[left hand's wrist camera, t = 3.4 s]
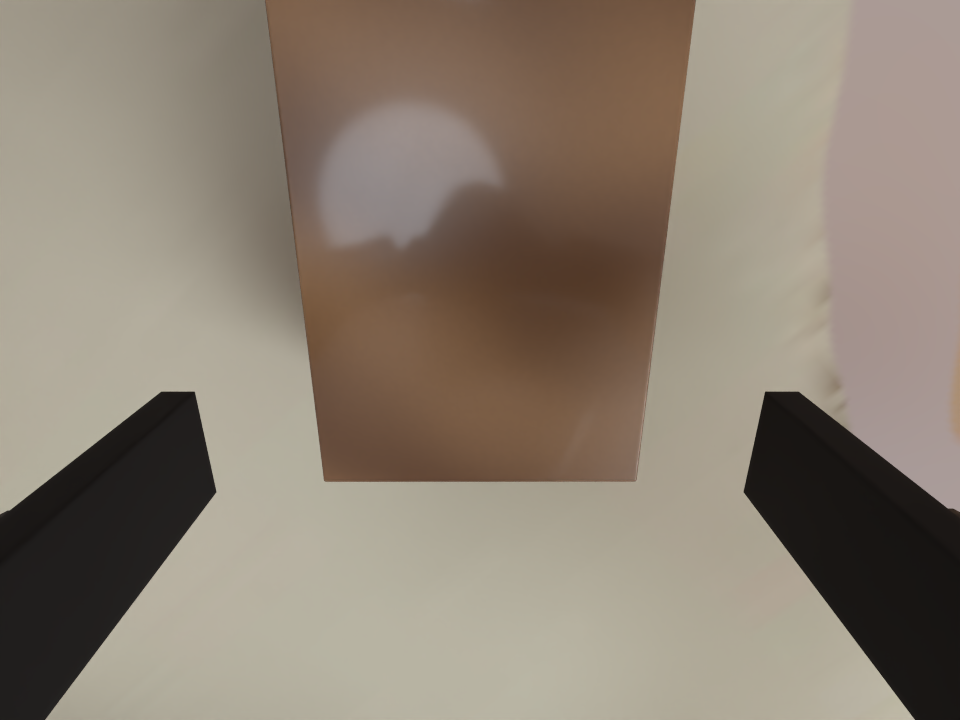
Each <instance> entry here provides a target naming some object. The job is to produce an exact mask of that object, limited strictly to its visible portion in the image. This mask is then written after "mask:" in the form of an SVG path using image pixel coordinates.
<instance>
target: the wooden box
mask: <svg viewBox="0 0 960 720" xmlns="http://www.w3.org/2000/svg"><path fill="white" fill-rule="evenodd" d="M265 2H266V11H267V19H268V27H269V35H270V43H271V51H272V60H273V68H274V76H275V84H276V92H277V100H278V108H279V117H280V125H281V133H282V141H283V149H284V157H285V166H286V174H287V182H288V190H289V198H290V206H291V214H292V223H293V231H294V239H295V247H296V255H297V263H298V271H299V280H300V288H301V296H302V304H303V312H304V320H305V329H306V337H307V345H308V353H309V361H310V369H311V377H312V386H313V394H314V402H315V410H316V418H317V426H318V435H319V443H320V451H321V459H322V467H323V475H324V481H326V482H528V481H636V479H637V471H638V463H639V455H640V447H641V439H642V431H643V423H644V414H645V406H646V398H647V390H648V382H649V374H650V366H651V358H652V350H653V342H654V334H655V326H656V317H657V309H658V301H659V293H660V285H661V277H662V269H663V261H664V253H665V245H666V237H667V229H668V220H669V212H670V204H671V196H672V188H673V180H674V172H675V164H676V156H677V148H678V140H679V132H680V123H681V115H682V107H683V99H684V91H685V83H686V75H687V67H688V59H689V51H690V43H691V35H692V26H693V18H694V10H695V2H696V0H265Z"/></svg>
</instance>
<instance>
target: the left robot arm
mask: <svg viewBox="0 0 960 720" xmlns="http://www.w3.org/2000/svg"><path fill="white" fill-rule="evenodd" d="M215 493H216V488H215V483H214V479H213V474H212V470H211V465H210V460H209V456H208V451H207V446H206V442H205V437H204V432H203V428H202V423H201V419H200V414H199V409H198V405H197V400H196V395H195V392H160V393H159V394H158V395H157V396H155V397H154V398H153V399H152V400H150V401H149V402H148V403H146V404H145V405H144V406H143V407H141V408H140V409H139V410H137V411H136V412H135V413H134V414H132V415H131V416H130V417H129V418H127V419H126V420H125V421H123V422H122V423H121V424H120V425H118V426H117V427H116V428H115V429H113V430H112V431H111V432H109V433H108V434H107V435H106V436H104V437H103V438H102V439H100V440H99V441H98V442H97V443H95V444H94V445H93V446H92V447H90V448H89V449H88V450H86V451H85V452H84V453H83V454H81V455H80V456H79V457H78V458H76V459H75V460H74V461H72V462H71V463H70V464H69V465H67V466H66V467H65V468H63V469H62V470H61V471H60V472H58V473H57V474H56V475H55V476H53V477H52V478H51V479H49V480H48V481H47V482H46V483H44V484H43V485H42V486H41V487H39V488H38V489H37V490H35V491H34V492H33V493H32V494H30V495H29V496H28V497H26V498H25V499H24V500H23V501H21V502H20V503H19V504H18V505H16V506H15V507H14V508H12V509H11V510H10V511H6V512H4V513H2V514H0V720H45V719H46V718H47V716H48V715H49V714H50V712H51V711H52V710H53V708H54V707H55V706H56V704H57V703H58V702H59V700H60V699H61V698H62V696H63V695H64V694H65V692H66V691H67V690H68V688H69V687H70V686H71V684H72V683H73V682H74V681H75V679H76V678H77V677H78V675H79V674H80V673H81V671H82V670H83V669H84V667H85V666H86V665H87V663H88V662H89V661H90V659H91V658H92V657H93V655H94V654H95V653H96V651H97V650H98V649H99V647H100V646H101V645H102V643H103V642H104V641H105V639H106V638H107V637H108V635H109V634H110V633H111V631H112V630H113V629H114V627H115V626H116V625H117V623H118V622H119V621H120V619H121V618H122V617H123V615H124V614H125V613H126V611H127V610H128V609H129V607H130V606H131V605H132V603H133V602H134V601H135V600H136V598H137V597H138V596H139V594H140V593H141V592H142V590H143V589H144V588H145V586H146V585H147V584H148V582H149V581H150V580H151V578H152V577H153V576H154V574H155V573H156V572H157V570H158V569H159V568H160V566H161V565H162V564H163V562H164V561H165V560H166V558H167V557H168V556H169V554H170V553H171V552H172V550H173V549H174V548H175V546H176V545H177V544H178V542H179V541H180V540H181V538H182V537H183V536H184V534H185V533H186V532H187V530H188V529H189V528H190V526H191V525H192V524H193V522H194V521H195V520H196V519H197V517H198V516H199V515H200V513H201V512H202V511H203V509H204V508H205V507H206V505H207V504H208V503H209V501H210V500H211V499H212V497H213V496H214V495H215ZM744 493H745V495H746V496H747V497H748V499H749V500H750V501H751V503H752V504H753V505H754V507H755V508H756V509H757V511H758V512H759V513H760V515H761V516H762V517H763V519H764V520H765V521H766V523H767V524H768V525H769V526H770V528H771V529H772V530H773V532H774V533H775V534H776V536H777V537H778V538H779V540H780V541H781V542H782V544H783V545H784V546H785V548H786V549H787V550H788V552H789V553H790V554H791V556H792V557H793V558H794V560H795V561H796V562H797V564H798V565H799V566H800V568H801V569H802V570H803V572H804V573H805V574H806V576H807V577H808V578H809V580H810V581H811V582H812V584H813V585H814V586H815V588H816V589H817V590H818V592H819V593H820V594H821V596H822V597H823V598H824V600H825V601H826V602H827V603H828V605H829V606H830V607H831V609H832V610H833V611H834V613H835V614H836V615H837V617H838V618H839V619H840V621H841V622H842V623H843V625H844V626H845V627H846V629H847V630H848V631H849V633H850V634H851V635H852V637H853V638H854V639H855V641H856V642H857V643H858V645H859V646H860V647H861V649H862V650H863V651H864V653H865V654H866V655H867V657H868V658H869V659H870V661H871V662H872V663H873V665H874V666H875V667H876V669H877V670H878V671H879V673H880V674H881V675H882V677H883V678H884V679H885V681H886V682H887V683H888V685H889V686H890V687H891V688H892V690H893V691H894V692H895V694H896V695H897V696H898V698H899V699H900V700H901V702H902V703H903V704H904V706H905V707H906V708H907V710H908V711H909V712H910V714H911V715H912V716H913V718H914V719H915V720H960V512H958V511H956V510H955V509H948V508H946V507H945V506H944V505H942V504H941V503H940V502H939V501H937V500H936V499H935V498H934V497H932V496H931V495H930V494H928V493H927V492H926V491H925V490H923V489H922V488H921V487H919V486H918V485H917V484H916V483H914V482H913V481H912V480H911V479H909V478H908V477H907V476H905V475H904V474H903V473H902V472H900V471H899V470H898V469H896V468H895V467H894V466H893V465H891V464H890V463H889V462H888V461H886V460H885V459H884V458H882V457H881V456H880V455H879V454H877V453H876V452H875V451H874V450H872V449H871V448H870V447H868V446H867V445H866V444H865V443H863V442H862V441H861V440H860V439H858V438H857V437H856V436H854V435H853V434H852V433H851V432H849V431H848V430H847V429H845V428H844V427H843V426H842V425H840V424H839V423H838V422H837V421H835V420H834V419H833V418H831V417H830V416H829V415H828V414H826V413H825V412H824V411H823V410H821V409H820V408H819V407H817V406H816V405H815V404H814V403H812V402H811V401H810V400H808V399H807V398H806V397H805V396H803V395H802V394H801V393H800V392H765V395H764V400H763V405H762V409H761V414H760V419H759V423H758V428H757V432H756V437H755V442H754V446H753V451H752V456H751V460H750V465H749V470H748V474H747V479H746V483H745V488H744Z"/></svg>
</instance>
